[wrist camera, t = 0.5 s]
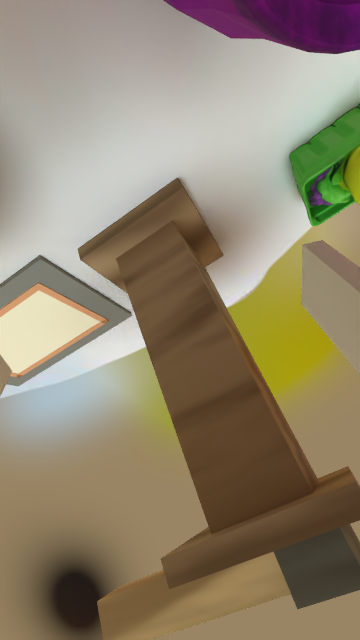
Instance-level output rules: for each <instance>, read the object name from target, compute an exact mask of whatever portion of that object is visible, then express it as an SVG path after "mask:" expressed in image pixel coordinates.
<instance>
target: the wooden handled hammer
mask: <svg viewBox="0 0 360 640" xmlns="http://www.w3.org/2000/svg"><path fill="white" fill-rule="evenodd" d="M358 590H360V542H359V540H358V538H357V536H356V534H355V533H354V531H353V529H352V527H351V525H350V524H348V525H345V526H342V527H339V528H337V529H334V530H331V531H328V532H326V533H323V534H320V535H317V536H315V537H312V538H309V539H306V540H304V541H301V542H298V543H295V544H293V545H290V546H287V547H284V548H282V549H279V550H276V551H274V552H271V553H268V554H265V555H263V556H260V557H257V558H254V559H252V560H249V561H246V562H243V563H241V564H238V565H235V566H232V567H230V568H227V569H224V570H221V571H219V572H216V573H213V574H210V575H208V576H205V577H202V578H199V579H197V580H194V581H191V582H188V583H186V584H183V585H180V586H177V587H175V588H172V589H169V587H168V584H167V580H166V576H165V573H164V570H162V571H159V572H156V573H154V574H151V575H148V576H146V577H143V578H141V579H138V580H136V581H133V582H130V583H128V584H125V585H122V586H120V587H119V588H117V589H116V590H114V591H112V592H111V593H109V594H108V595H107V596H105V597H104V598H102V599H101V600H99V601H98V602H97V604H98V609H99V615H100V621H101V627H102V633H103V638H104V640H151V639H155V638H157V637H160V636H164V635H166V634H170V633H173V632H176V631H179V630H182V629H185V628H188V627H191V626H194V625H198V624H201V623H204V622H207V621H210V620H213V619H216V618H219V617H222V616H225V615H228V614H231V613H234V612H237V611H240V610H243V609H247V608H250V607H253V606H256V605H259V604H262V603H265V602H268V601H271V600H274V599H277V598H280V597H283V596H287V595H290V594H292V597H293V599H294V602H295V604H296V606H297V609H300V608H303V607H306V606H310V605H313V604H316V603H319V602H322V601H326V600H329V599H332V598H335V597H338V596H342V595H345V594H348V593H351V592H354V591H358Z"/></svg>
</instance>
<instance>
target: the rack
mask: <svg viewBox="0 0 360 640" xmlns="http://www.w3.org/2000/svg"><path fill="white" fill-rule="evenodd" d="M78 252H79V256H80V260H81V261H83V262H84V263H86V264H87V265H88V266H90V267H91V268H93V269H94V270H96V271H97V272H98V273H100V274H101V275H103V276H104V277H105V278H107V279H108V280H110V281H111V282H112V283H114V284H115V285H117V286H118V287H119V288H121V289H122V290H124V291H125V292H126V293H128V295H129V298H130V301H131V304H132V307H133V310H134V312H135V315H136V318H137V321H138V324H139V327H140V330H141V333H142V336H143V338H144V341H145V344H146V347H147V350H148V353H149V355H150V359H151V361H152V364H153V367H154V370H155V373H156V376H157V379H158V382H159V384H160V387H161V390H162V393H163V396H164V399H165V402H166V405H167V408H168V410H169V413H170V416H171V419H172V422H173V424H174V428H175V430H176V433H177V436H178V439H179V442H180V445H181V448H182V451H183V454H184V456H185V459H186V462H187V465H188V468H189V471H190V473H191V477H192V480H193V482H194V485H195V488H196V491H197V494H198V497H199V500H200V503H201V505H202V509H203V511H204V514H205V517H206V520H207V523H208V526H209V527H208V528H206V529H205V530H203V531H202V532H200V533H199V534H197V535H196V536H194V537H193V538H191V539H190V540H188V541H187V542H185V543H184V544H182V545H181V546H179V547H178V548H176V549H175V550H173V551H171V552H170V553H168V554H167V555H166V556H164V557H162V558H161V561H162V565H163V569H164V573H165V576H166V580H167V584H168V587H169V589H172V588H175V587H177V586H180V585H183V584H186V583H188V582H191V581H194V580H197V579H199V578H202V577H205V576H208V575H210V574H213V573H216V572H219V571H221V570H224V569H227V568H230V567H232V566H235V565H238V564H241V563H243V562H246V561H249V560H252V559H254V558H257V557H260V556H263V555H265V554H268V553H271V552H274V551H276V550H279V549H282V548H284V547H287V546H290V545H293V544H295V543H298V542H301V541H304V540H306V539H309V538H312V537H315V536H317V535H320V534H323V533H326V532H328V531H331V530H334V529H337V528H339V527H342V526H345V525H348V524H350V523H353V522H356V521H359V520H360V486H359V484H358V482H357V480H356V479H355V477H354V475H353V474H352V472H351V470H350V469H349V467H345V468H343V469H340V470H338V471H335V472H333V473H330V474H328V475H325V476H323V477H321V478H318V479H317V477H316V475H315V474H314V471H313V470H312V468H311V466H310V464H309V462H308V460H307V458H306V456H305V455H304V453H303V451H302V449H301V447H300V445H299V443H298V441H297V440H296V438H295V436H294V434H293V432H292V430H291V428H290V426H289V424H288V423H287V421H286V419H285V417H284V415H283V413H282V411H281V410H280V408H279V406H278V404H277V402H276V400H275V398H274V397H273V394H272V393H271V391H270V389H269V387H268V385H267V383H266V381H265V379H264V378H263V376H262V374H261V372H260V370H259V368H258V366H257V364H256V363H255V361H254V359H253V357H252V355H251V353H250V351H249V349H248V347H247V346H246V344H245V342H244V340H243V338H242V336H241V334H240V332H239V331H238V329H237V327H236V325H235V323H234V321H233V319H232V317H231V316H230V314H229V312H228V310H227V308H226V306H225V304H224V302H223V300H222V299H221V297H220V295H219V293H218V291H217V289H216V287H215V285H214V284H213V282H212V280H211V278H210V276H209V274H208V272H207V270H206V269H205V267H206V266H207V265H209V264H211V263H212V262H214V261H215V260H217V259H219V258H220V257H222V256H223V253H222V251H221V249H220V248H219V246H218V244H217V243H216V241H215V239H214V238H213V236H212V234H211V233H210V231H209V229H208V228H207V226H206V224H205V223H204V221H203V219H202V218H201V216H200V214H199V213H198V211H197V209H196V208H195V206H194V204H193V203H192V201H191V199H190V198H189V196H188V194H187V193H186V191H185V189H184V188H183V186H182V184H181V183H180V181H179V179H178V178H177V179H175V180H174V181H172V182H171V183H170V184H168V185H167V186H165V187H164V188H163V189H161V190H160V191H158V192H157V193H156V194H154V195H153V196H151V197H150V198H149V199H147V200H146V201H144V202H143V203H142V204H140V205H139V206H137V207H136V208H135V209H133V210H132V211H130V212H129V213H128V214H126V215H125V216H123V217H122V218H121V219H119V220H118V221H117V222H115V223H114V224H112V225H111V226H110V227H108V228H107V229H105V230H104V231H103V232H101V233H100V234H98V235H97V236H96V237H94V238H93V239H91V240H90V241H89V242H87V243H86V244H84V245H83V246H82V247H80V248H79V249H78Z"/></svg>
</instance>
